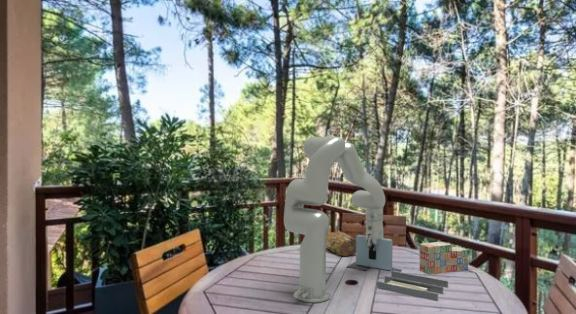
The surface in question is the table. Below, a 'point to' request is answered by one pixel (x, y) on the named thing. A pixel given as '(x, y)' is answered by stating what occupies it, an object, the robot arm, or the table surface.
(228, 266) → the table surface
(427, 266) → the stack of blocks
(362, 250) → the panel
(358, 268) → the mat
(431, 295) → the rack
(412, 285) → the offcut upper
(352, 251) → the petrified wood
